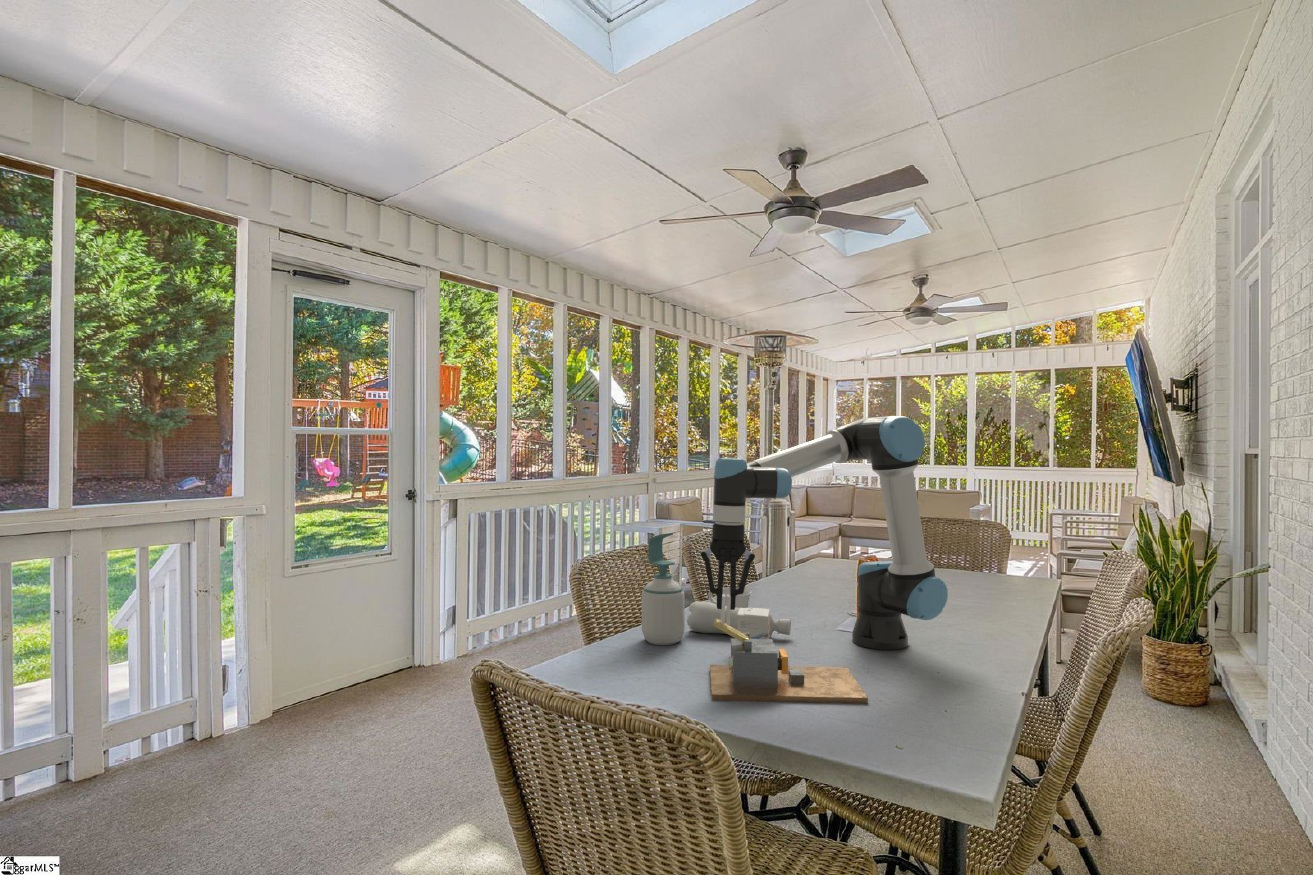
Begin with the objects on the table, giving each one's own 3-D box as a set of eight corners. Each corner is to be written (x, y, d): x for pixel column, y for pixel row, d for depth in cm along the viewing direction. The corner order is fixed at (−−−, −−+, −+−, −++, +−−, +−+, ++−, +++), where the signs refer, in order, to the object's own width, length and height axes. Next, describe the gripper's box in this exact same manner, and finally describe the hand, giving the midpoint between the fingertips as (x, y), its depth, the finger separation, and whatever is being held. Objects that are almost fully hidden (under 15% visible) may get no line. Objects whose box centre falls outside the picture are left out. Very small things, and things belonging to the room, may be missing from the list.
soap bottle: (661, 650, 184) (661, 536, 184) (632, 640, 193) (632, 532, 193) (693, 641, 192) (693, 533, 192) (664, 632, 201) (664, 529, 201)
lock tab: (747, 641, 159) (749, 636, 159) (748, 646, 155) (751, 642, 155) (713, 621, 160) (716, 617, 160) (714, 626, 156) (716, 622, 155)
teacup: (718, 614, 222) (718, 584, 222) (758, 621, 214) (758, 590, 214) (699, 622, 213) (699, 590, 213) (740, 629, 204) (740, 597, 204)
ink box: (768, 660, 175) (768, 615, 175) (736, 658, 176) (736, 614, 177) (770, 650, 183) (769, 608, 183) (739, 648, 185) (739, 606, 185)
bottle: (684, 625, 197) (787, 637, 188) (689, 596, 202) (790, 606, 192) (690, 635, 204) (789, 647, 195) (695, 606, 209) (792, 617, 200)
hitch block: (847, 672, 166) (847, 627, 166) (867, 703, 146) (867, 651, 146) (710, 669, 168) (709, 625, 168) (711, 700, 148) (711, 649, 148)
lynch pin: (784, 666, 160) (784, 649, 160) (788, 675, 154) (788, 657, 154) (728, 665, 160) (728, 648, 160) (729, 674, 154) (729, 655, 154)
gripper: (756, 522, 161) (752, 620, 161) (699, 520, 162) (696, 617, 162) (759, 526, 154) (755, 628, 153) (700, 523, 155) (696, 625, 154)
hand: (725, 623), depth 157 cm, fingers closed
